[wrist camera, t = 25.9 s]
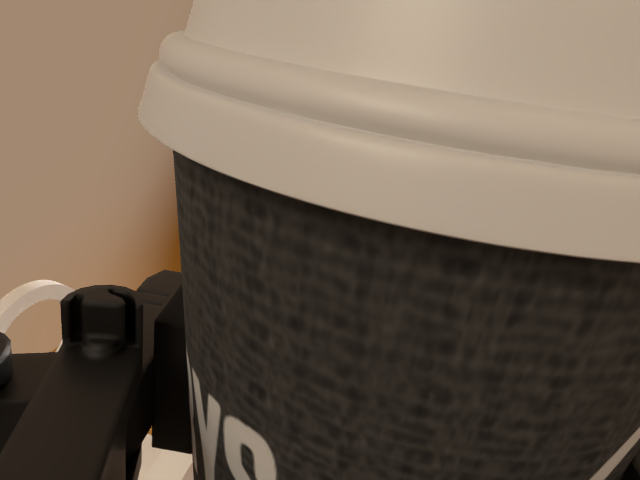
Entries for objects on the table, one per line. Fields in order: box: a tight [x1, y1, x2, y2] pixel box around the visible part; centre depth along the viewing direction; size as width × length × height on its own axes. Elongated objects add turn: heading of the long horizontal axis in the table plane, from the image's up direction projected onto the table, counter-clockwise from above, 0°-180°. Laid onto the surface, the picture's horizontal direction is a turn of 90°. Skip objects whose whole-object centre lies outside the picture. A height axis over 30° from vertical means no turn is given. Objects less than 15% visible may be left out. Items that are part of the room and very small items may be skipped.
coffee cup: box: [138, 0, 640, 480], centre depth 11 cm, size 10×10×15 cm
